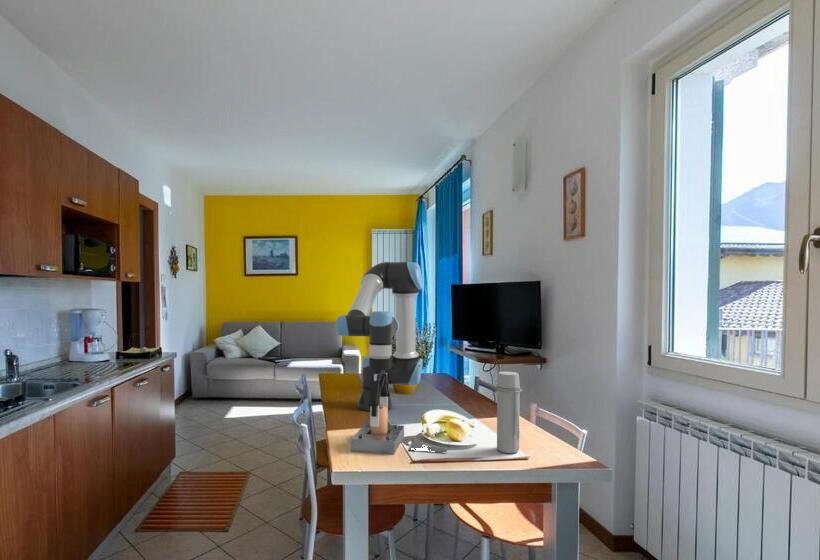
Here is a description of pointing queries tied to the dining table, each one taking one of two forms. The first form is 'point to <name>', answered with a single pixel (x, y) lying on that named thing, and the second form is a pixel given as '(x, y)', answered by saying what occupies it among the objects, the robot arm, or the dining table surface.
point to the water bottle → (508, 412)
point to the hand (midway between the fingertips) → (379, 420)
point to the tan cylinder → (381, 422)
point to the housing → (377, 440)
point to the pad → (417, 444)
